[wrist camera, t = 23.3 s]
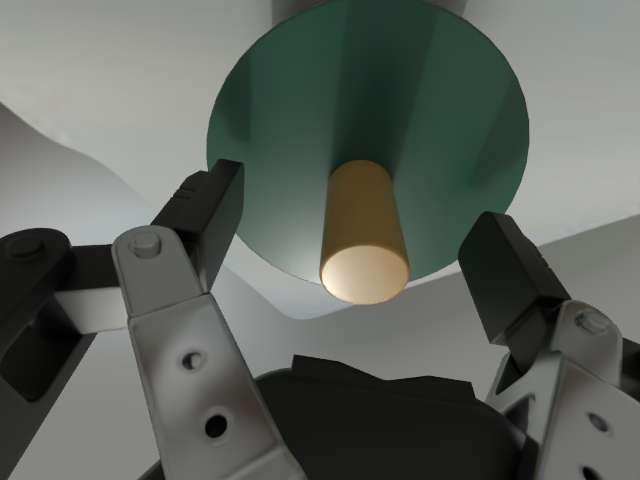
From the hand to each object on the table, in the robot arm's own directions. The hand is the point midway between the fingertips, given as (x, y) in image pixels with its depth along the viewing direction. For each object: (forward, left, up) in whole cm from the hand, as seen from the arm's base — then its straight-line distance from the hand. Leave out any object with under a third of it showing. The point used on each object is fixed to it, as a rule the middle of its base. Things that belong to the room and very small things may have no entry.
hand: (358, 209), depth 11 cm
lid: (0, 0, -2) cm, 2 cm away
